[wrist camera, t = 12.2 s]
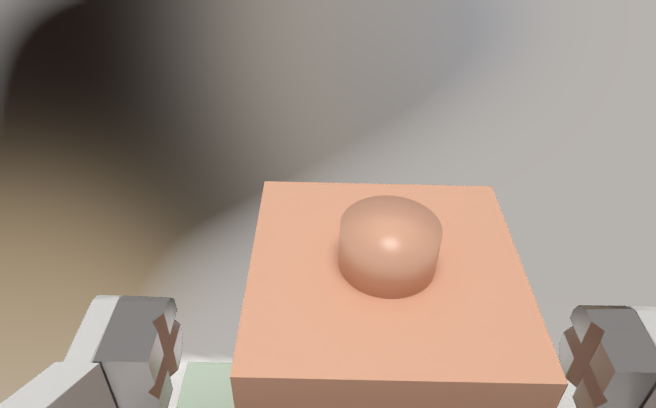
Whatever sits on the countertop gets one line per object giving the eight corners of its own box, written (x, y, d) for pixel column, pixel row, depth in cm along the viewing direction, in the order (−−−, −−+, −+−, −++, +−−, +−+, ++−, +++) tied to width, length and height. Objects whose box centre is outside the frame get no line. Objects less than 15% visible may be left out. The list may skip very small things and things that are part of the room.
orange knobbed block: (431, 430, 16) (500, 152, 10) (457, 611, 13) (586, 346, 7) (280, 427, 16) (262, 146, 10) (265, 608, 13) (224, 338, 7)
